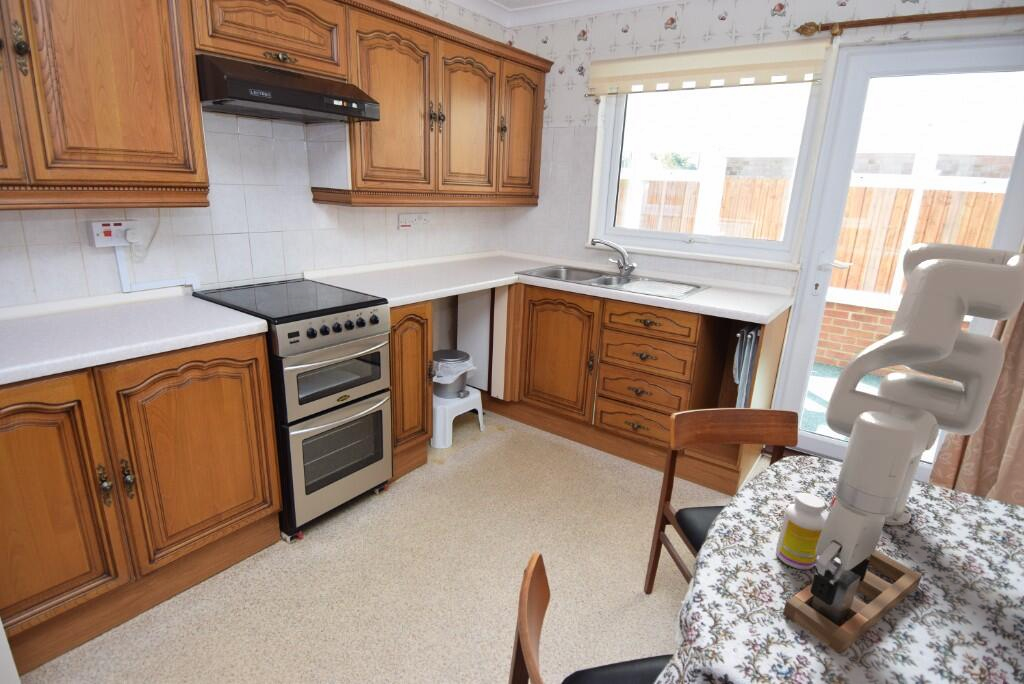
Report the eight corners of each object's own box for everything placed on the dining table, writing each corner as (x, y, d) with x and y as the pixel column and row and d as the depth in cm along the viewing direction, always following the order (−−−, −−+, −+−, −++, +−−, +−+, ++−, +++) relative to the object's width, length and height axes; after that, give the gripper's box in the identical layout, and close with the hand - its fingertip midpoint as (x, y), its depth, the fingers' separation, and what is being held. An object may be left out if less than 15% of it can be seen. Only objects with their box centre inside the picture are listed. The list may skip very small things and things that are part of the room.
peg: (820, 605, 89) (834, 561, 86) (846, 622, 86) (860, 576, 83) (808, 615, 87) (821, 569, 84) (833, 632, 83) (848, 586, 81)
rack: (863, 556, 102) (867, 545, 101) (917, 586, 95) (922, 574, 94) (783, 613, 87) (786, 600, 86) (840, 654, 80) (844, 640, 79)
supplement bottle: (819, 574, 96) (837, 513, 93) (780, 567, 98) (796, 507, 94) (807, 550, 103) (823, 492, 99) (771, 544, 104) (785, 486, 100)
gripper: (865, 467, 87) (839, 554, 92) (809, 497, 77) (784, 592, 83) (918, 490, 81) (887, 581, 86) (864, 526, 72) (833, 626, 77)
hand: (837, 586), depth 84 cm, fingers open, 9 cm apart
